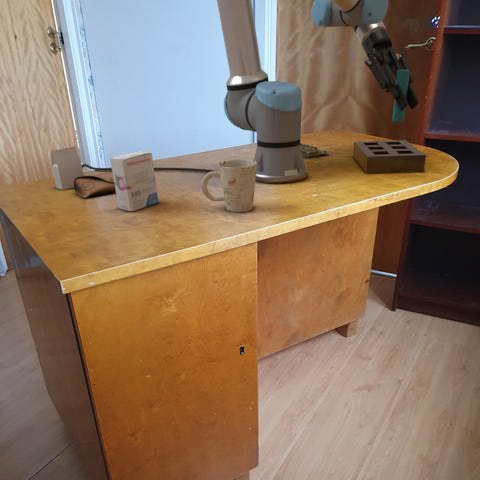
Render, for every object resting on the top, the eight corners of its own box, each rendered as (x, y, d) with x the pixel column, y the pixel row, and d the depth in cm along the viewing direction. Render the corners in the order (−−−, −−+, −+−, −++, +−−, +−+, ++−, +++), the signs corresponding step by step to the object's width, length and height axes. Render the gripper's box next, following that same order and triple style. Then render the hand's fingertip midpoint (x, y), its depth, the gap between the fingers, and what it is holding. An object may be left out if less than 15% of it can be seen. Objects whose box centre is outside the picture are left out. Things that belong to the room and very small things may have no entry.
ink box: (145, 199, 121) (138, 149, 115) (159, 202, 118) (153, 151, 113) (117, 208, 116) (109, 156, 110) (131, 212, 113) (123, 158, 107)
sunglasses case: (84, 197, 123) (75, 171, 123) (79, 206, 129) (71, 181, 129) (150, 185, 131) (142, 160, 131) (143, 193, 137) (135, 170, 137)
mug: (257, 213, 109) (257, 167, 104) (201, 215, 109) (197, 169, 104) (257, 202, 116) (256, 158, 111) (204, 203, 116) (201, 160, 111)
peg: (393, 121, 140) (399, 70, 133) (390, 120, 142) (396, 69, 136) (404, 121, 140) (411, 70, 133) (402, 119, 142) (408, 69, 136)
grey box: (85, 184, 136) (78, 147, 131) (62, 189, 132) (54, 151, 127) (78, 182, 139) (71, 145, 134) (56, 187, 135) (47, 149, 130)
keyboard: (271, 147, 172) (271, 141, 171) (293, 144, 175) (293, 138, 174) (307, 158, 155) (307, 151, 154) (330, 154, 158) (330, 148, 157)
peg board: (366, 173, 136) (367, 156, 134) (352, 156, 155) (354, 141, 153) (423, 171, 135) (426, 155, 133) (403, 155, 155) (405, 140, 152)
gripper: (359, 28, 134) (395, 99, 129) (403, 26, 140) (440, 94, 136) (345, 50, 141) (379, 118, 136) (388, 47, 147) (422, 113, 143)
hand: (409, 106), depth 136 cm, fingers closed on peg, 3 cm apart
